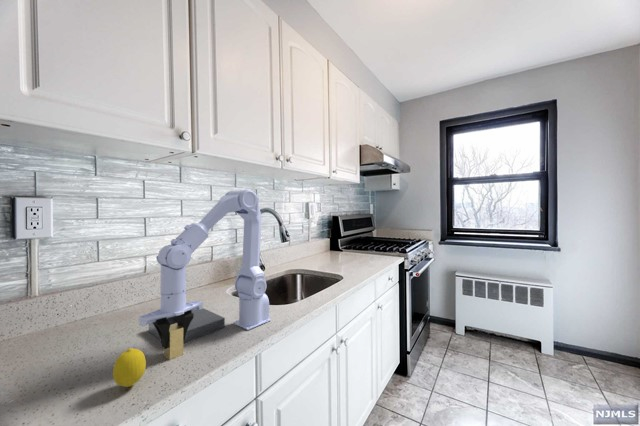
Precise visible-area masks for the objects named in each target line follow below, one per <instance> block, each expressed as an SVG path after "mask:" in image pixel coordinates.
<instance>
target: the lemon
mask: <svg viewBox="0 0 640 426" xmlns="http://www.w3.org/2000/svg"><path fill="white" fill-rule="evenodd" d="M146 365H147V362H146V357H145V354H144V352H143V351H142V350H140V349H138V348H132V347H131V348H130V347H129V348H127V350H125V351H123V352H122V353H121V354H120V355H119V356H118V357H117V358H116V359H115V363H114V364H113V369H112V377H113V380H114V382H115V384H116V385H118V386H120V387H126V388H131V387H133V385H134V384H136V383H137V382H139V381H140V379H141V378H142V377H143V375H144V374H145V371H146Z"/></svg>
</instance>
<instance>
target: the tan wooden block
mask: <svg viewBox="0 0 640 426" xmlns="http://www.w3.org/2000/svg"><path fill="white" fill-rule="evenodd" d="M162 349H163V352H162V353H163V356H164V357H166V358H167V359H168V360H169V361H171V360H173V359H176V358H178V357H181V356H183V355H184V343H183V327H182V326H180V325H179V324H177V323H176V324H172V325H170V329H169V346H168V348H167V349H164V348H163V347H162Z"/></svg>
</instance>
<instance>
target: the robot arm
mask: <svg viewBox="0 0 640 426" xmlns="http://www.w3.org/2000/svg"><path fill="white" fill-rule="evenodd" d="M259 199H260V197H259V196H258V195H257V194H256V193H255V192H254V191H253V190H252V189H249V188H247V189H242V190H230V191H227V192H225V194H224V195H223V196H221V197H220V198H219V200H218V201H217V203H216V204H214V206H213V207H212V208H211V209H210V210H209V211H208V212H207V214H206V215H205V216H204V217H203V218H202V219H201V220H200V221H199V222H193V223H190V224H186V225H185V226H184V227H183V229H184V230H183V231H182V232H181V233H180V234H179V235H178V236H176V237H175V238H173V239H171V240H170V244H167V245H164V246H163V247H161V249H160V250H159V251H158V255H156V257H155V259H156V261H157V263H158V264H159V265H160V305H159V306H160V308H159V309H156V310H154V311H152V312H149V313H146V314H143V315H140V316H139V317H138V319H139V321H138V322H139V323H138V324H139V326H140V327H146V326H148V325H149V323H153V325H154V326H155V328H156V329H157V331H158V334H159V336H160V339H161V340H160V339H159V340H160V342H161V347H162V349H163V348H164V349H167V348H168V346H169V329H170V323H169V322H168V320H167V318H170V317H173V316H177V323H178V324H179V325H180V326H182V327H183V342H184V340H185V336H186V332H187V329H188V327H189V325H190V323H191V321H192V319H193V317H194V314H193V313H192V311H193V310H197V309H198V310H200V309H203V308H204V306H203V305H204V304H203V303H204V302H203V301H201V300H196V301H195V300H194V301H191V302H189V301H188V302H187V265H188V264H189V263H190V262H191V258H192V255H193V253H195V251H196V250H197V249H198V248H199V247H201V245H202V244H203V243H204V242H205V241H206V240H207V239H208V238H209V231H210V230H212V228H213V227H214V226H215V225H216V224H217V223H218V222H220V221H221V220H222V219H223V218H224V217H225V216H226V215H227V214H229V213H236V214H238V215H239V217H240V218H242V219H243V239H242V264H241V265H242V267H240V269H239V270H238V271H237V276H236V279H235V281H234V289H235V290H236V292H237V294H238V297H239V298H238V302H239V303H238V320H236V321H233V324H234V325H236V326H238V327H240V328H241V329H244V330H247V331H249V330H252V329H254V328H257V327H259V326H261V325H264V324H265V323H268V322H270V321H271V320H272V319H271V318H270V300H269V299H270V298H269V297H268V295H267V294H266V290H267V281H266V277H265V275H266V273H265V272H264V271H263V270H262V268H261V267H260V257H261V230H262V213H261V210H260V205H259V201H260V200H259Z"/></svg>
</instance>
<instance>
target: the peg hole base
mask: <svg viewBox="0 0 640 426" xmlns="http://www.w3.org/2000/svg"><path fill="white" fill-rule="evenodd" d="M192 313H193V314H194V317H193V319H192V321H191V323H190V325H189V327H188V329H187V332H186V336H185V340H184V342H183V344H184V343H186V342H187V343H188V342H189V341H192V340H195V339H197V338H199V337H200V338H201V337H203V336H205V335H208V334H210V333H213V332H216V331H219V330H221V329H224V328H225V327H226V326H225V321H226V320H225V319H226V318H225V317H224V316H221V315H219V314H217V313H214V312H212V311H210V310H208V309H206V308H204V307H203V309H200V310H198V309H197V310H193V311H192ZM167 320H168V322H169V323H170V325H172V324H176V323H177V316H173V317H170V318H167ZM177 324H178V323H177ZM148 332H149V333H150V334H152V335H153V336H154V337H156V338H157V339H159V340H160V341H161V339H160V336H159V334H158V331H157V329H156V328H155V326H154V325H153V323H149V324H148Z"/></svg>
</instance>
